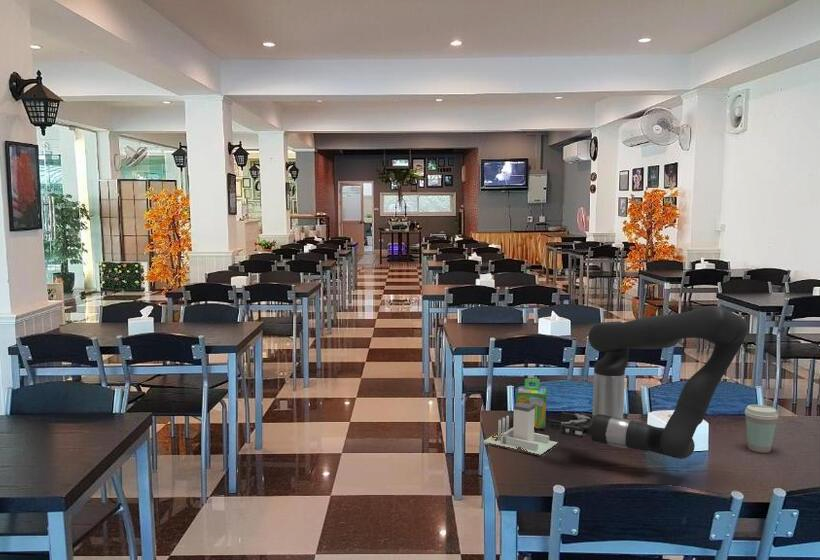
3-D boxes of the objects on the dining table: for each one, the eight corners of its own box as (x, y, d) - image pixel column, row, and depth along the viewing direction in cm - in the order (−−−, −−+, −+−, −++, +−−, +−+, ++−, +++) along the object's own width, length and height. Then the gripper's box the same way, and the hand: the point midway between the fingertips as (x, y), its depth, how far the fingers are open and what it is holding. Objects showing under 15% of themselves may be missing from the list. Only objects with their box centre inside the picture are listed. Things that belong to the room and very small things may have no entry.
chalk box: (515, 428, 207) (516, 382, 206) (517, 420, 216) (518, 375, 215) (545, 431, 205) (546, 384, 204) (546, 422, 214) (547, 376, 213)
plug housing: (519, 438, 196) (520, 402, 195) (533, 441, 193) (534, 404, 192) (512, 443, 192) (513, 405, 191) (527, 446, 190) (528, 408, 189)
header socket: (540, 457, 183) (541, 433, 183) (482, 443, 194) (483, 421, 193) (557, 445, 193) (558, 422, 192) (502, 432, 203) (502, 411, 203)
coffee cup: (779, 449, 191) (782, 408, 190) (771, 456, 185) (773, 414, 184) (747, 442, 197) (750, 402, 196) (738, 449, 191) (740, 408, 190)
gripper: (621, 410, 183) (565, 400, 192) (603, 424, 171) (544, 412, 180) (620, 437, 183) (564, 426, 193) (602, 452, 172) (544, 439, 181)
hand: (555, 419), depth 187 cm, fingers open, 8 cm apart
